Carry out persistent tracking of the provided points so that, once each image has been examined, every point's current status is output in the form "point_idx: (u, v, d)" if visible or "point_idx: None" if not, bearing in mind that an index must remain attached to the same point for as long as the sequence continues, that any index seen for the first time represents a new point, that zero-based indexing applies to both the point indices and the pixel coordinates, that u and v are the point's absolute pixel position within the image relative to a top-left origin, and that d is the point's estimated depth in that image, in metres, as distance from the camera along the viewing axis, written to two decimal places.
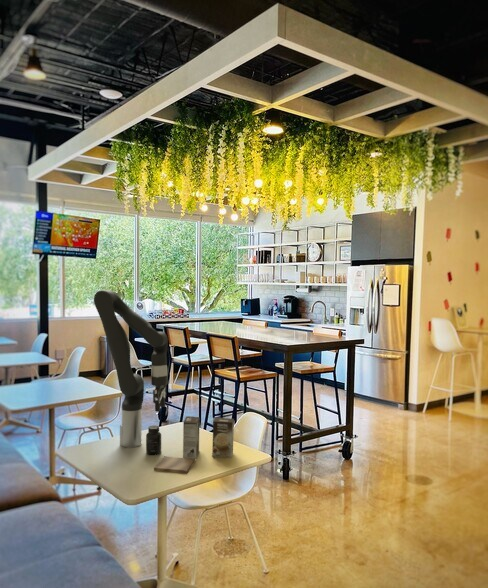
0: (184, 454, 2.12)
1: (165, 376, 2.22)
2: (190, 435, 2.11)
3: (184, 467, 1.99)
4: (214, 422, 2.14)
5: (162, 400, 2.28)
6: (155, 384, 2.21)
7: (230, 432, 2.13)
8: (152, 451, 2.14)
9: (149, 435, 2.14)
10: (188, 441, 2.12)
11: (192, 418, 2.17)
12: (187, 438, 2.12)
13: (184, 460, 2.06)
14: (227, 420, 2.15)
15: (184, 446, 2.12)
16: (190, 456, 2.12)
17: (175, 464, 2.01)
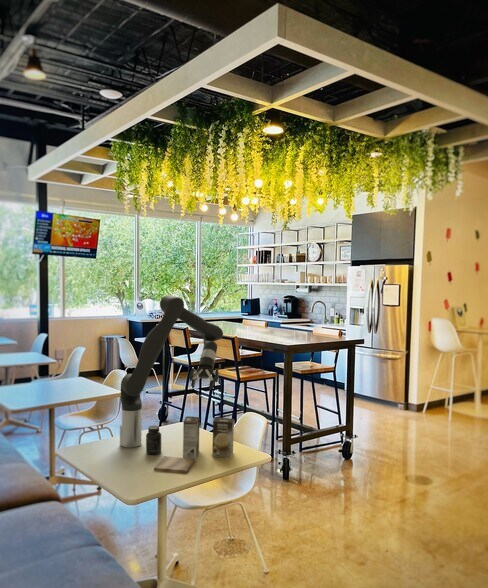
0: (184, 454, 2.12)
1: None
2: (190, 435, 2.11)
3: (184, 467, 1.99)
4: (214, 422, 2.14)
5: (194, 382, 2.34)
6: (212, 366, 2.38)
7: (230, 432, 2.13)
8: (152, 451, 2.14)
9: (149, 435, 2.14)
10: (188, 441, 2.12)
11: (192, 418, 2.17)
12: (187, 438, 2.12)
13: (184, 460, 2.06)
14: (227, 420, 2.15)
15: (184, 446, 2.12)
16: (190, 456, 2.12)
17: (175, 464, 2.01)
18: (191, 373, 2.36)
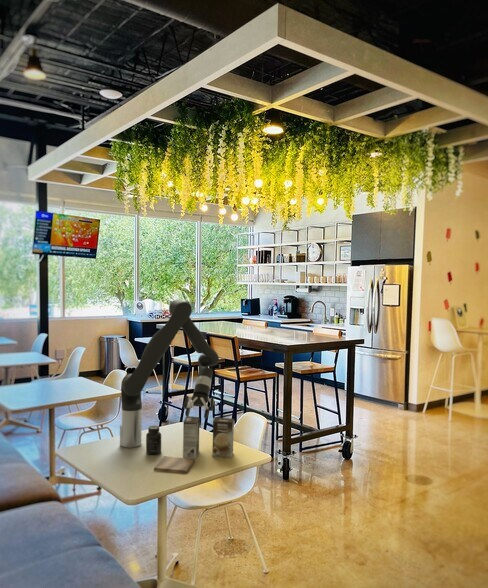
0: (184, 454, 2.12)
1: None
2: (190, 435, 2.11)
3: (184, 467, 1.99)
4: (214, 422, 2.14)
5: (189, 410, 2.26)
6: (208, 393, 2.30)
7: (230, 432, 2.13)
8: (152, 451, 2.14)
9: (149, 435, 2.14)
10: (188, 441, 2.12)
11: (192, 418, 2.17)
12: (187, 438, 2.12)
13: (184, 460, 2.06)
14: (227, 420, 2.15)
15: (184, 446, 2.12)
16: (190, 456, 2.12)
17: (175, 464, 2.01)
18: (185, 401, 2.28)
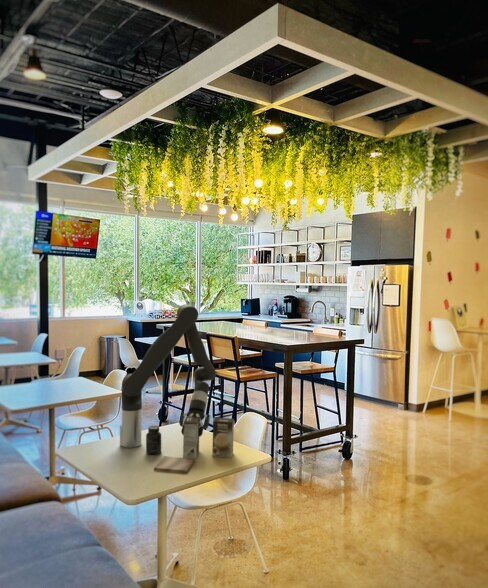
0: (184, 454, 2.12)
1: None
2: (190, 434, 2.11)
3: (184, 467, 1.99)
4: (214, 422, 2.14)
5: None
6: (203, 409, 2.23)
7: (230, 432, 2.13)
8: (152, 451, 2.14)
9: (149, 435, 2.14)
10: (188, 441, 2.12)
11: (192, 418, 2.17)
12: (187, 438, 2.12)
13: (184, 460, 2.06)
14: (227, 420, 2.15)
15: (184, 446, 2.12)
16: (190, 456, 2.12)
17: (175, 464, 2.01)
18: (181, 418, 2.21)
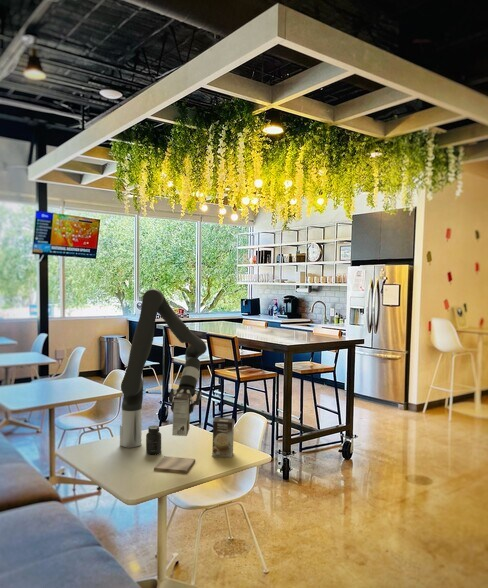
0: (174, 431, 2.01)
1: None
2: (181, 411, 2.00)
3: (184, 467, 1.99)
4: (214, 422, 2.14)
5: None
6: (194, 386, 2.12)
7: (230, 432, 2.13)
8: (152, 451, 2.14)
9: (149, 435, 2.14)
10: (178, 418, 2.00)
11: (183, 394, 2.06)
12: (177, 414, 2.00)
13: (184, 460, 2.06)
14: (227, 420, 2.15)
15: (174, 423, 2.01)
16: (180, 434, 2.01)
17: (175, 464, 2.01)
18: (171, 394, 2.09)
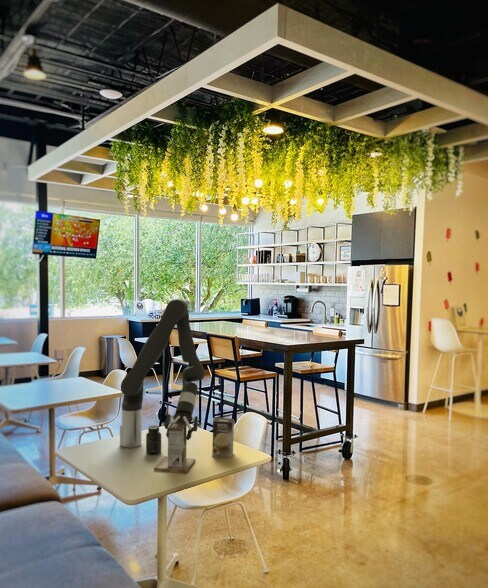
0: (169, 462, 1.99)
1: None
2: (175, 442, 1.98)
3: (184, 467, 1.99)
4: (214, 422, 2.14)
5: None
6: (191, 412, 2.09)
7: (230, 432, 2.13)
8: (152, 451, 2.14)
9: (149, 435, 2.14)
10: (173, 449, 1.98)
11: (178, 424, 2.04)
12: (172, 445, 1.98)
13: None
14: (227, 420, 2.15)
15: (169, 454, 1.99)
16: (175, 465, 1.99)
17: None
18: (167, 420, 2.08)
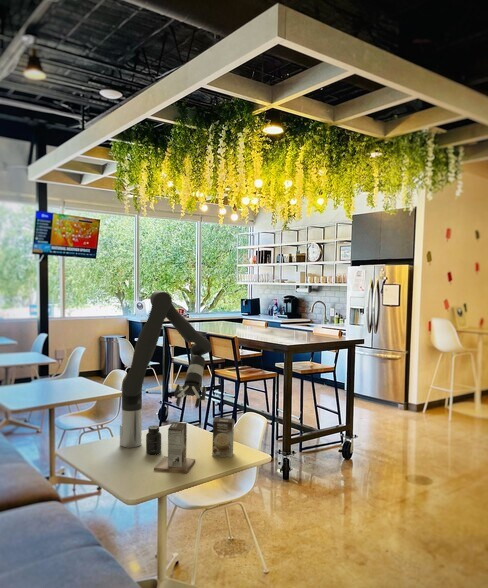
0: (169, 462, 1.99)
1: None
2: (175, 442, 1.98)
3: (184, 467, 1.99)
4: (214, 422, 2.14)
5: (180, 400, 2.18)
6: (199, 382, 2.22)
7: (230, 432, 2.13)
8: (152, 451, 2.14)
9: (149, 435, 2.14)
10: (173, 449, 1.98)
11: (178, 424, 2.04)
12: (172, 445, 1.98)
13: None
14: (227, 420, 2.15)
15: (169, 454, 1.99)
16: (175, 465, 1.99)
17: None
18: (176, 390, 2.20)
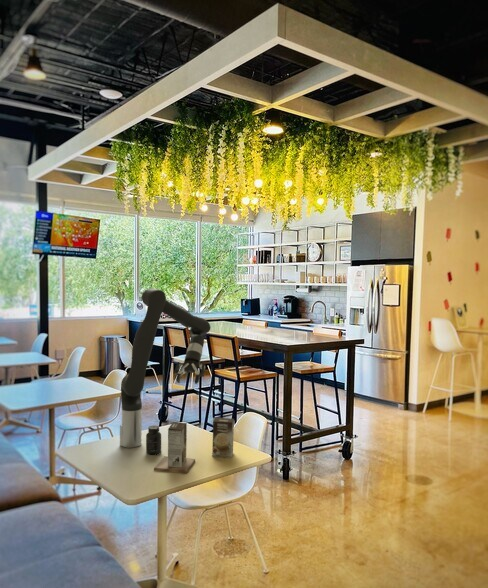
0: (169, 462, 1.99)
1: None
2: (175, 442, 1.98)
3: (184, 467, 1.99)
4: (214, 422, 2.14)
5: (180, 376, 2.27)
6: (199, 360, 2.31)
7: (230, 432, 2.13)
8: (152, 451, 2.14)
9: (149, 435, 2.14)
10: (173, 449, 1.98)
11: (178, 424, 2.04)
12: (172, 445, 1.98)
13: None
14: (227, 420, 2.15)
15: (169, 454, 1.99)
16: (175, 465, 1.99)
17: None
18: (177, 367, 2.29)
